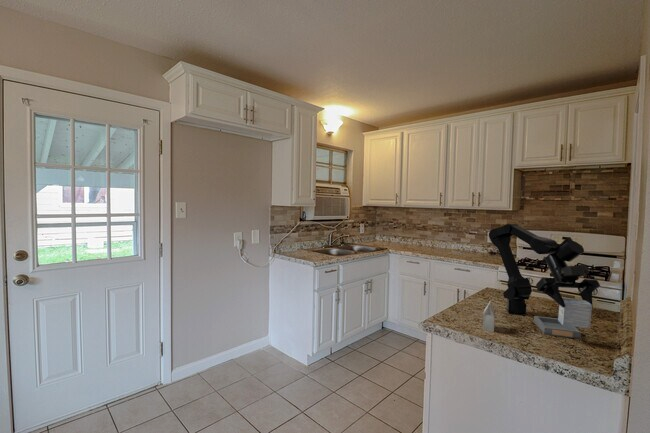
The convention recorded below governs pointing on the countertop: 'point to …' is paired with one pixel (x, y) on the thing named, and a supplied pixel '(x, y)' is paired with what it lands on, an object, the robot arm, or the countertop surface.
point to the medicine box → (575, 313)
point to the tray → (556, 328)
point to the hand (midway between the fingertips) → (577, 307)
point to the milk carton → (489, 318)
